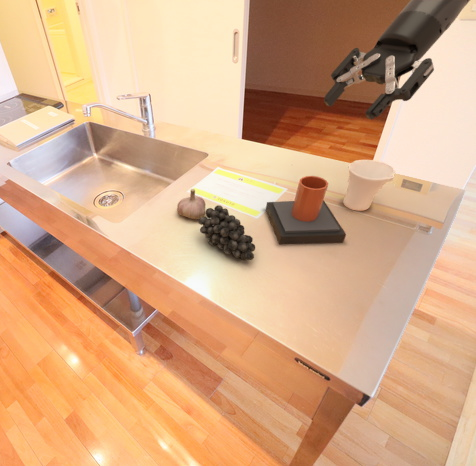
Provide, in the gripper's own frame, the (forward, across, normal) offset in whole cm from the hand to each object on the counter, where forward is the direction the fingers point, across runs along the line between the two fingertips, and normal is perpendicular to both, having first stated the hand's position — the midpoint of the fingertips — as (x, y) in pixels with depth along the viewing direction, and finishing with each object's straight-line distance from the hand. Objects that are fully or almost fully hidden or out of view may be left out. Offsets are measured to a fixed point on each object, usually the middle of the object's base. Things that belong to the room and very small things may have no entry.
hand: (346, 110), depth 59 cm
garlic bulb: (+34, -17, +3) cm, 39 cm away
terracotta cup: (+18, 0, +14) cm, 23 cm away
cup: (+9, +1, +28) cm, 30 cm away
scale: (+21, 0, +16) cm, 26 cm away
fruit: (+34, -2, +3) cm, 35 cm away
